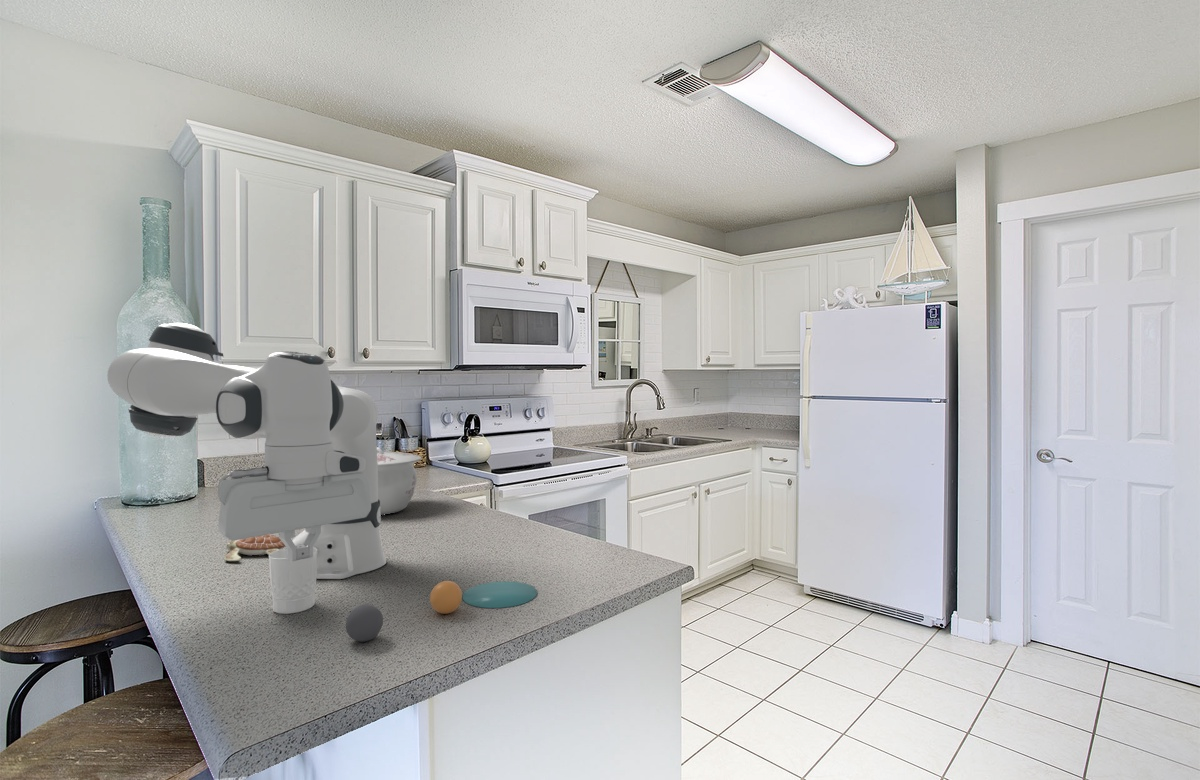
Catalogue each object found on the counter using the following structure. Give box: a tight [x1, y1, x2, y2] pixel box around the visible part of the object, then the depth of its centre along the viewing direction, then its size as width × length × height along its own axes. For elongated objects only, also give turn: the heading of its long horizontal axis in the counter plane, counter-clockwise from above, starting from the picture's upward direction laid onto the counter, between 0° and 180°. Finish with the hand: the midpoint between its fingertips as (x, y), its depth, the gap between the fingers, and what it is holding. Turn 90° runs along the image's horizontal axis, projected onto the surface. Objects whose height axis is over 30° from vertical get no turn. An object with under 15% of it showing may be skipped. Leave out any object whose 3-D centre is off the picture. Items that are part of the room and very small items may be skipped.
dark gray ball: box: [345, 603, 384, 642], centre depth 95 cm, size 6×6×6 cm
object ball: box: [429, 580, 463, 615], centre depth 106 cm, size 6×6×6 cm
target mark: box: [462, 580, 538, 609], centre depth 115 cm, size 14×14×1 cm
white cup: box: [268, 547, 318, 615], centre depth 109 cm, size 8×8×10 cm
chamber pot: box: [377, 446, 423, 516], centre depth 190 cm, size 28×28×21 cm
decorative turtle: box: [224, 534, 287, 562], centre depth 145 cm, size 18×17×5 cm
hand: (300, 558), depth 88 cm, fingers closed
